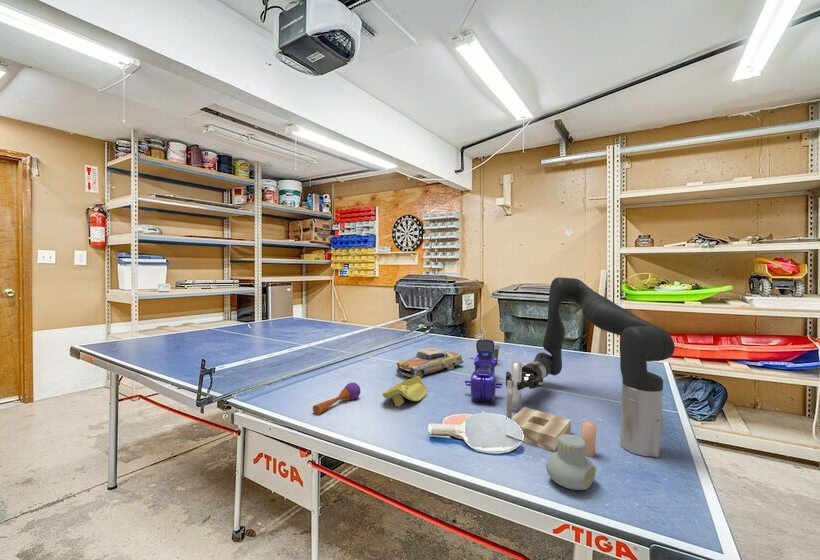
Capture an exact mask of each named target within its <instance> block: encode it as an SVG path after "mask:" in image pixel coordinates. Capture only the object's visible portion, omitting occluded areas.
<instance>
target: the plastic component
mask: <svg viewBox="0 0 820 560" xmlns="http://www.w3.org/2000/svg"><path fill="white" fill-rule="evenodd" d="M427 395H428V390H427V388H426V385H425V383H424V382H423V380H422V378H420V377H419V376H416V377H413V378H412V377H410V378H409V379H406V380H403V381H401V382H398V383H397V384H395V385H394V386H392V387H390V388H389V389H387V390H385V391H384V392H383V393H382V396H383V397H384V399H388V398H390V399H392V400H393V403H394V406H395V407H397V406H400V405H402V404H404V403H405V399H404V398H406V399H407V400H409V401H411V402H419V401H421V400H422V399H423V398H424V397H425V396H427Z"/></svg>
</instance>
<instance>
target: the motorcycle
mask: <svg viewBox="0 0 820 560" xmlns="http://www.w3.org/2000/svg"><path fill="white" fill-rule="evenodd" d="M475 345H476V353H477V354H476V355H475V356H474V357H469V359H470V360H471V359H472V360H473V361H474V362H473V365H474V371H473V372H472V374H471V375H470V376H471V377H470V380H464V383H465V384H466V386H469V387H470V397H471V399H472V401H474V402H484V403H493V402H494V400H495V399H496V389H502V387H503V383H501V382H497V381H496V374H495V372H496V371H495V367H497V365H496V360H498V361H500V359H499V358H498V359H495V358H494V356H493V355H492V354H493V352H494V345H495V342H494V341H493V340H492V339H478V340H476V343H475ZM478 353H479V354H478ZM482 353H485V355H484V354H482ZM487 354H488V355H487Z"/></svg>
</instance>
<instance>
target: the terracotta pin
mask: <svg viewBox="0 0 820 560" xmlns="http://www.w3.org/2000/svg"><path fill="white" fill-rule="evenodd" d="M581 429H582V434H581V438H582V439H583V440H584V441H585V442H586V457H591V458H592V457H593V458H594V457H596V443H597V442H596V441H597V440H596V438H597V423H595V422H592V421H589V420H586V421H583V422H582V428H581Z"/></svg>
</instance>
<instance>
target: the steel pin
mask: <svg viewBox="0 0 820 560" xmlns="http://www.w3.org/2000/svg"><path fill="white" fill-rule="evenodd" d="M522 365H523V363H522V362H520V361H512V362H511V374H512V412H516V413H518V412H519V411H521V410H522V389H521V390H517V384H518V383H519V382H521V380H522V367H523V366H522Z"/></svg>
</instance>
